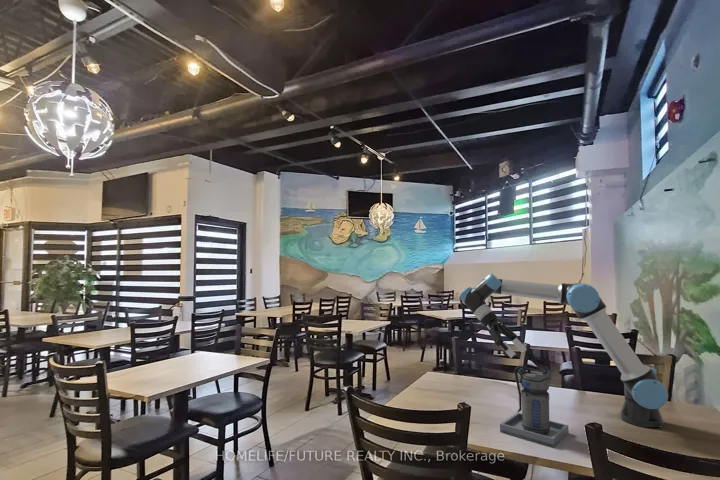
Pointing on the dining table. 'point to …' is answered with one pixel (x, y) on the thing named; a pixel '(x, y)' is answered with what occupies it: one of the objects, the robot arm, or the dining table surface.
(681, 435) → the dining table surface
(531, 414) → the beverage bottle
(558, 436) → the tray
